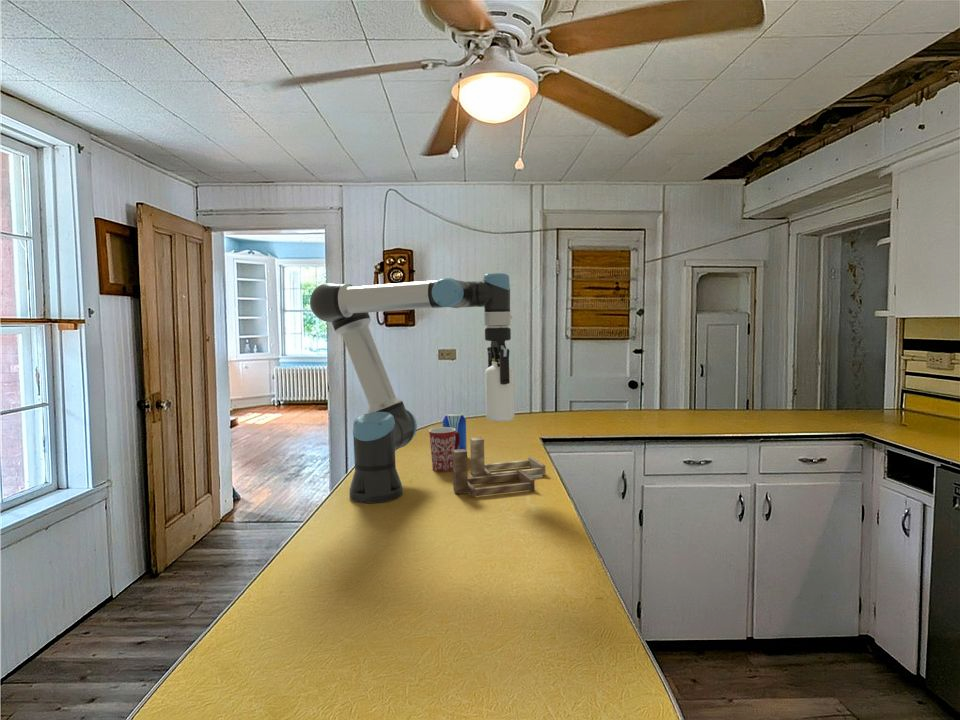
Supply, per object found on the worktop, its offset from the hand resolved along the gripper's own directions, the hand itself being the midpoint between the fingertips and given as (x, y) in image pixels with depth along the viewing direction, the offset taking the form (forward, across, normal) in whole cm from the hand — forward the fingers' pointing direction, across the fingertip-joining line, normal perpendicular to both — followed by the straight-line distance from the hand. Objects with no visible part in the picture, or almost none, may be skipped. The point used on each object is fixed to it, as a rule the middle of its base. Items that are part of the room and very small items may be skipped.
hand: (498, 405), depth 167 cm
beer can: (+25, +41, +4) cm, 48 cm away
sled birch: (+24, +13, -6) cm, 28 cm away
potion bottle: (+4, -1, 0) cm, 4 cm away
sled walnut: (+24, 0, +3) cm, 24 cm away
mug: (+25, +28, +10) cm, 39 cm away
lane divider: (+25, +7, -8) cm, 27 cm away
